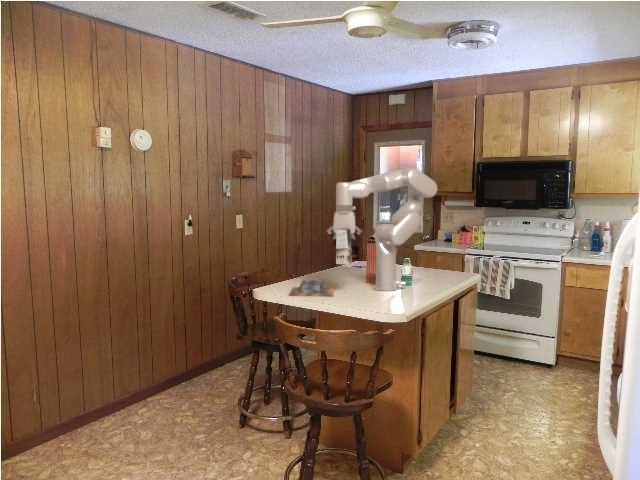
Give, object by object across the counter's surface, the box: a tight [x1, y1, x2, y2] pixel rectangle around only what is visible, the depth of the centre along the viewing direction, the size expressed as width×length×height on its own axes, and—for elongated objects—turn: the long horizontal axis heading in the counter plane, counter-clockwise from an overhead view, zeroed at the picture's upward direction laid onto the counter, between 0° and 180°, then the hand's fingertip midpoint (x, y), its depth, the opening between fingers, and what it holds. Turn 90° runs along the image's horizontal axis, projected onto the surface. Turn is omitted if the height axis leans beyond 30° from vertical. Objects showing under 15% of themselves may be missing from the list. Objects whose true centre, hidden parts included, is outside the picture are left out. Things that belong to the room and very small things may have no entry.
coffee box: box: [335, 229, 353, 266], centre depth 228 cm, size 9×6×16 cm
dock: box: [288, 279, 335, 298], centre depth 231 cm, size 20×15×5 cm
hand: (344, 247), depth 228 cm, fingers closed on coffee box, 6 cm apart
